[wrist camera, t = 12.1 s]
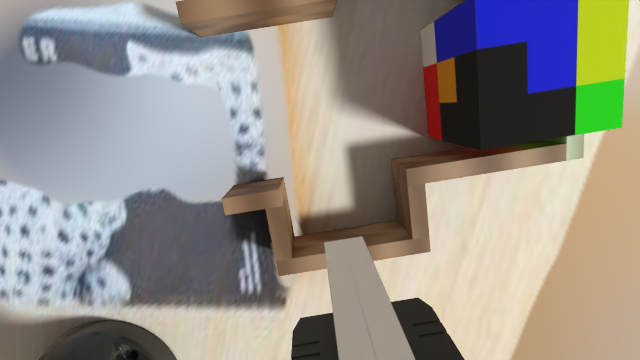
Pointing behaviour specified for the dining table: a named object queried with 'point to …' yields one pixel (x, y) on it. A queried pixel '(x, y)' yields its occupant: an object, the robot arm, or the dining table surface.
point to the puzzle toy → (524, 70)
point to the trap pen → (408, 173)
